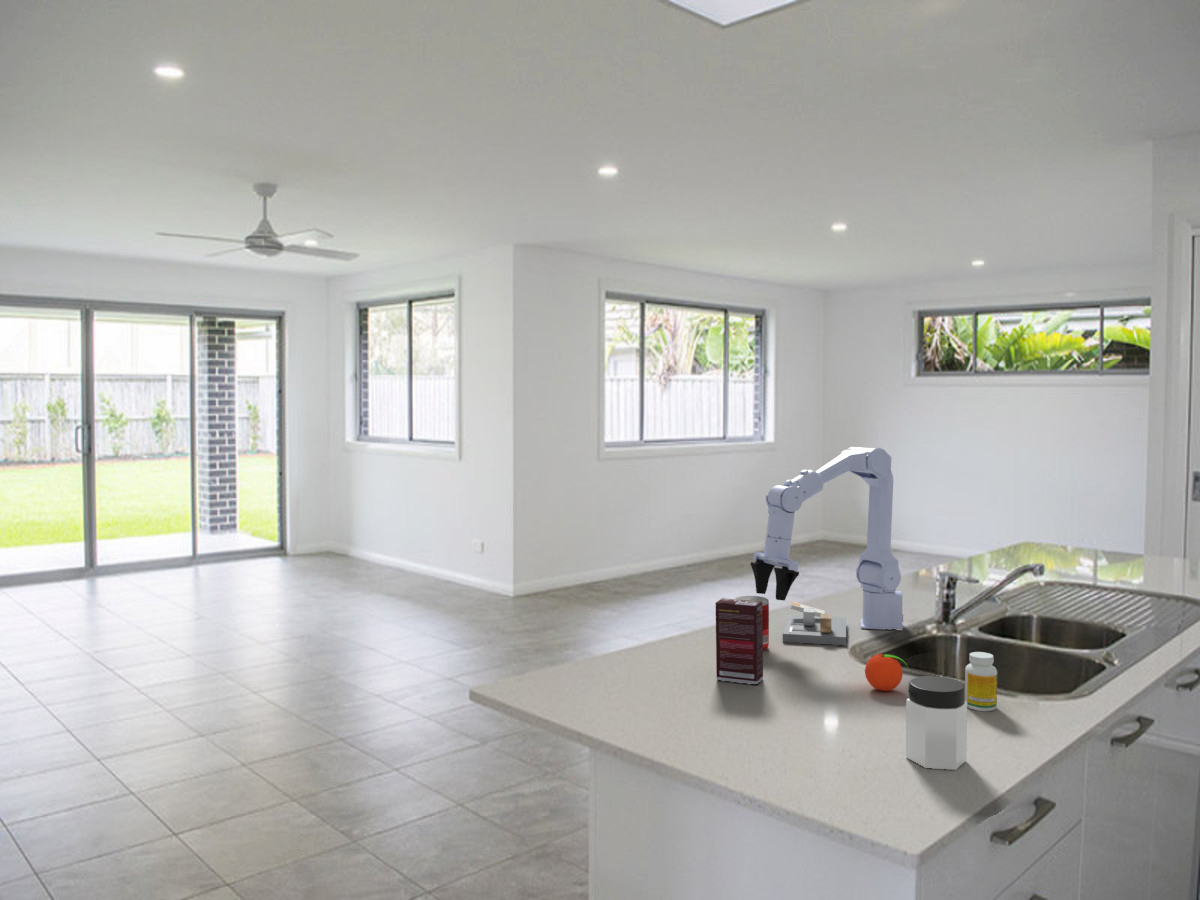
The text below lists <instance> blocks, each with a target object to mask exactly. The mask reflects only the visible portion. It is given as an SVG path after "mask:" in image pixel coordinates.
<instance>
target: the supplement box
mask: <svg viewBox="0 0 1200 900" xmlns="http://www.w3.org/2000/svg"><path fill="white" fill-rule="evenodd" d="M714 605H715V645H716V646H715V647H716V648H715V652H716V653H715V655H716V658H715V659H716V681H717V680H721V681H720V682H725V681H731V682H730V683H733V682H740V683H739V684H742V683H747V684H746V685H751V684H758V683H759V682H760V681H761V680H762V681H763V679H764V651H763V617H762V601H750V600H738V599H735V598H725V597H722V598H720V599H718V600H717V601H716V602H715V604H714ZM762 681H761V682H762ZM761 682H760V683H761ZM760 683H759V684H760ZM759 684H758V685H759Z"/></svg>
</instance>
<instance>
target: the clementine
mask: <svg viewBox="0 0 1200 900" xmlns="http://www.w3.org/2000/svg"><path fill="white" fill-rule="evenodd" d="M898 660H900V661H902V662H903V664H904V665H906V667H907V668H909V667H908V664H907V663H906V662H905V661H904V660H903V659H902V658H900V657H898V656H897V655H893V654H886V653H878V654H875V655H874V656H872V657H870V658H869V659H868V661H867V662H866V665H865V668H864V673H865V675H864V676H865V678H866V680H867V682H868V683H869V685H870V686H871V687H873V688H874V689H875V690H879V691H882V692H889V691H893V690H894V689H896V688H897V687H898V686H899V685H900V684H901V682H902V680H903V675H904V673H903V668H902V665H901V663H900V662H899V661H898Z"/></svg>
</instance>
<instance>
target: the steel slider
mask: <svg viewBox="0 0 1200 900" xmlns="http://www.w3.org/2000/svg"><path fill="white" fill-rule="evenodd" d="M815 608H816V607H813V608H804V612H802V613H803V614H802V615H803V625H809V626H814V621H815Z"/></svg>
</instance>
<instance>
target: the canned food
mask: <svg viewBox="0 0 1200 900" xmlns="http://www.w3.org/2000/svg"><path fill="white" fill-rule="evenodd" d="M734 599H738V600H750V601H762V617H763V652H765V651H766V649H767V648H768V649H769V645H770V641H769V639H770V637H769V636H770V632H769V631H770V603H769V602H770V601H769V599H768V598H766V597H763V596H759V595H757V596H756V595H742V596H737V597H736V598H734ZM768 649H767V650H768ZM764 650H765V651H764Z"/></svg>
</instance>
